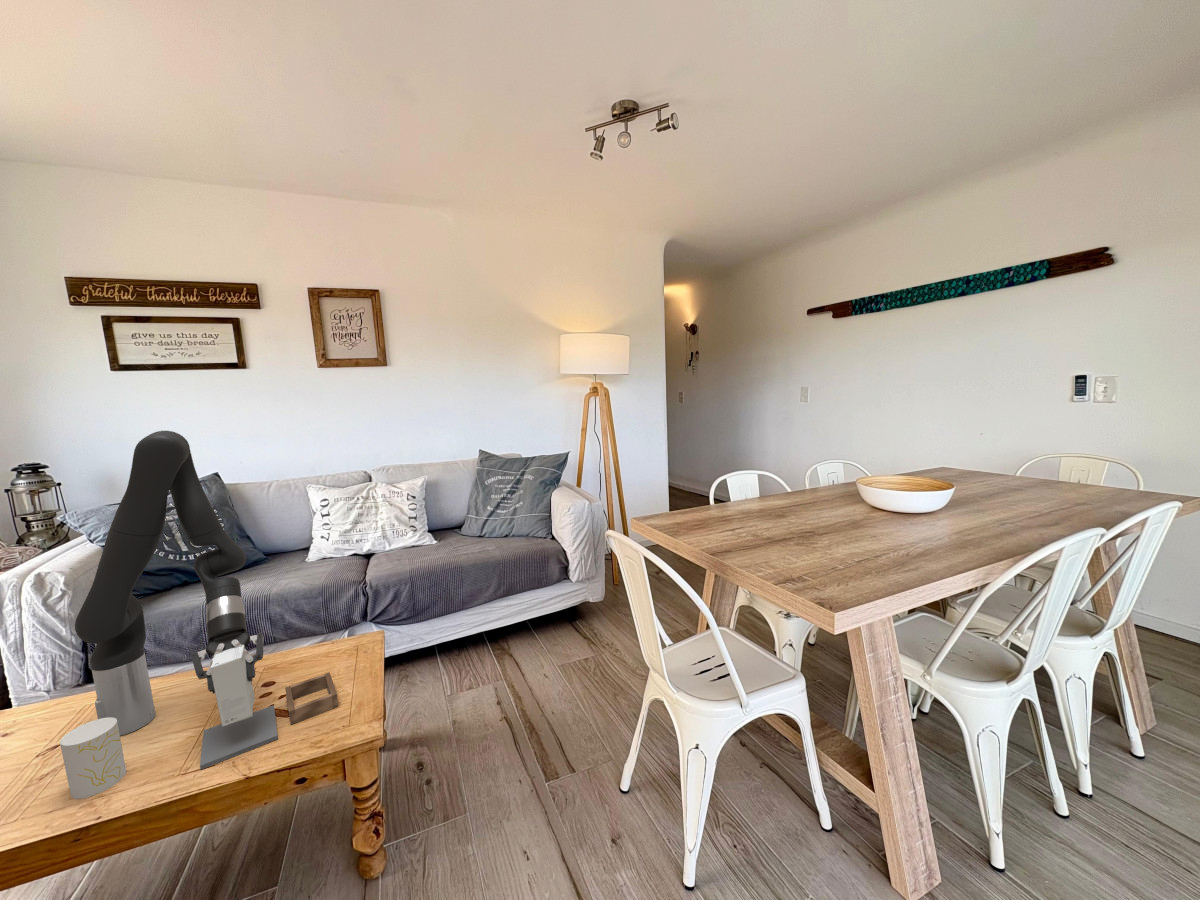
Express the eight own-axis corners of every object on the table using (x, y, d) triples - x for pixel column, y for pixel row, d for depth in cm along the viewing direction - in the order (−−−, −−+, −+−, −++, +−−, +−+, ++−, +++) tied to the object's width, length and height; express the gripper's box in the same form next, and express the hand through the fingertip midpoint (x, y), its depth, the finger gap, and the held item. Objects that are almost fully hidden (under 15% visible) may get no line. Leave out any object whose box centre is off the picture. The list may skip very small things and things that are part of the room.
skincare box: (253, 717, 109) (243, 658, 107) (220, 728, 106) (209, 667, 104) (255, 697, 116) (245, 642, 114) (224, 708, 113) (214, 650, 111)
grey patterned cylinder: (86, 802, 95) (76, 748, 93) (60, 794, 97) (49, 741, 95) (135, 770, 103) (126, 720, 101) (110, 764, 105) (101, 714, 103)
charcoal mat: (200, 770, 102) (199, 765, 102) (204, 733, 113) (203, 730, 113) (277, 739, 110) (277, 735, 110) (274, 708, 121) (273, 704, 121)
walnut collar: (290, 725, 115) (288, 711, 115) (286, 699, 125) (285, 687, 124) (338, 706, 121) (336, 694, 121) (331, 683, 131) (329, 672, 131)
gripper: (184, 623, 110) (189, 694, 102) (260, 603, 118) (269, 668, 110) (190, 635, 115) (195, 704, 107) (262, 615, 123) (271, 678, 115)
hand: (232, 685), depth 109 cm, fingers closed on skincare box, 6 cm apart
